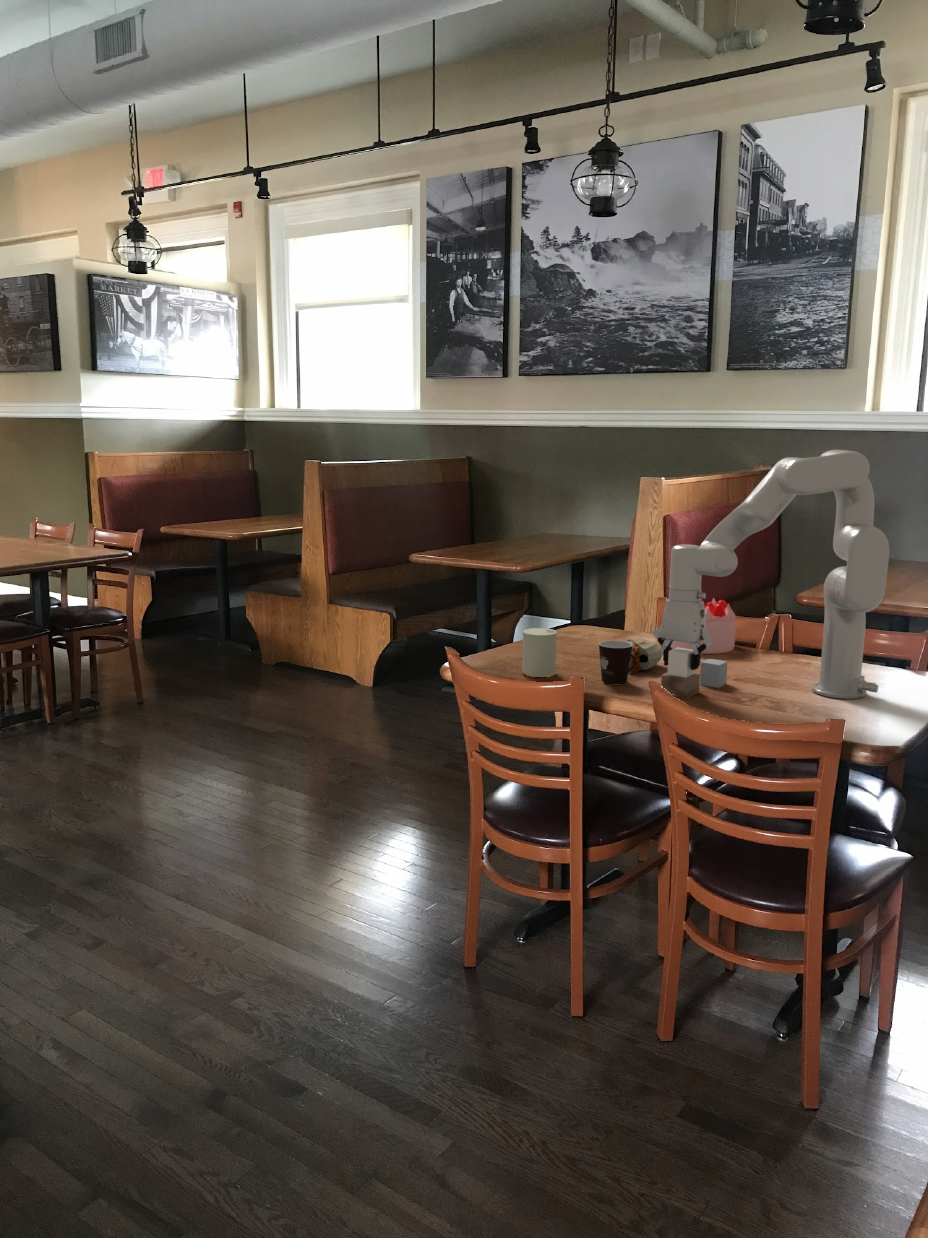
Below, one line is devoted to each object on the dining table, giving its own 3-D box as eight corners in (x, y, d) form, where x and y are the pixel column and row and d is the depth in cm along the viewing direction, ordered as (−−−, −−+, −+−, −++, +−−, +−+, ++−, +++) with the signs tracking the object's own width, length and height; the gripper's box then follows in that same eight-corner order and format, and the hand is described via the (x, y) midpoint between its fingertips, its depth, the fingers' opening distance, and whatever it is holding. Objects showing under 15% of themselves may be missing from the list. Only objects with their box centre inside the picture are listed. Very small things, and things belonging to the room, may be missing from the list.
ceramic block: (695, 673, 241) (696, 650, 240) (686, 677, 237) (687, 653, 236) (676, 670, 244) (677, 647, 242) (667, 674, 240) (668, 651, 239)
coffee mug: (594, 677, 255) (595, 640, 253) (626, 677, 256) (628, 640, 254) (603, 689, 244) (605, 650, 242) (637, 689, 244) (639, 650, 242)
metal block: (698, 693, 242) (699, 673, 241) (687, 699, 236) (688, 679, 235) (672, 688, 246) (673, 669, 245) (660, 694, 240) (661, 674, 240)
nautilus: (642, 683, 252) (590, 678, 260) (674, 662, 269) (624, 657, 278) (641, 654, 250) (589, 649, 259) (673, 634, 268) (623, 630, 276)
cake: (655, 648, 290) (657, 601, 287) (686, 637, 305) (688, 592, 302) (716, 658, 277) (718, 609, 275) (745, 646, 292) (748, 599, 290)
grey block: (726, 684, 250) (727, 661, 249) (718, 688, 246) (719, 665, 245) (708, 680, 253) (709, 658, 252) (699, 684, 249) (700, 662, 248)
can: (558, 678, 255) (559, 633, 253) (522, 677, 255) (523, 633, 253) (554, 669, 264) (555, 626, 262) (520, 669, 264) (521, 626, 262)
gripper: (724, 597, 234) (720, 669, 238) (659, 589, 244) (656, 658, 248) (711, 601, 228) (707, 675, 232) (645, 593, 239) (642, 664, 242)
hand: (681, 666), depth 240 cm, fingers open, 6 cm apart
